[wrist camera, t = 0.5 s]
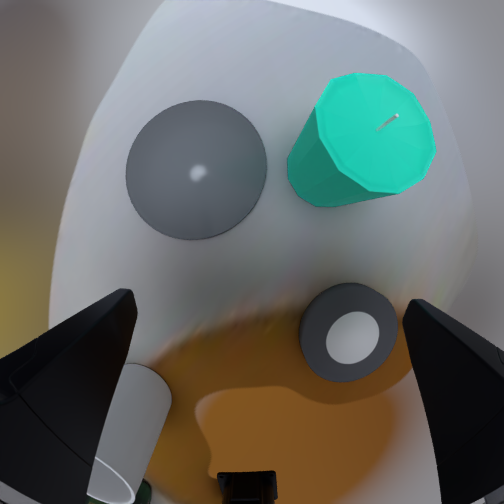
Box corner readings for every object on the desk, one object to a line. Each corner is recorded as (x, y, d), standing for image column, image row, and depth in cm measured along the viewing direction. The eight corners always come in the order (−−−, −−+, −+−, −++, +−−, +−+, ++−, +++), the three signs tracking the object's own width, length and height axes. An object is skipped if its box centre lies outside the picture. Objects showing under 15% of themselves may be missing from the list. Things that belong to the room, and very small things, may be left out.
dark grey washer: (384, 361, 22) (393, 372, 20) (300, 377, 22) (304, 389, 20) (388, 277, 21) (400, 282, 19) (296, 288, 21) (300, 295, 19)
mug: (187, 388, 22) (149, 488, 10) (158, 427, 23) (119, 513, 11) (96, 325, 22) (10, 384, 10) (77, 370, 22) (9, 432, 11)
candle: (365, 147, 20) (453, 90, 8) (351, 217, 21) (446, 211, 9) (295, 124, 20) (334, 34, 8) (277, 196, 21) (308, 159, 9)
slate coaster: (272, 232, 21) (273, 232, 20) (134, 245, 21) (130, 246, 20) (258, 97, 20) (258, 93, 19) (129, 117, 20) (126, 114, 19)
